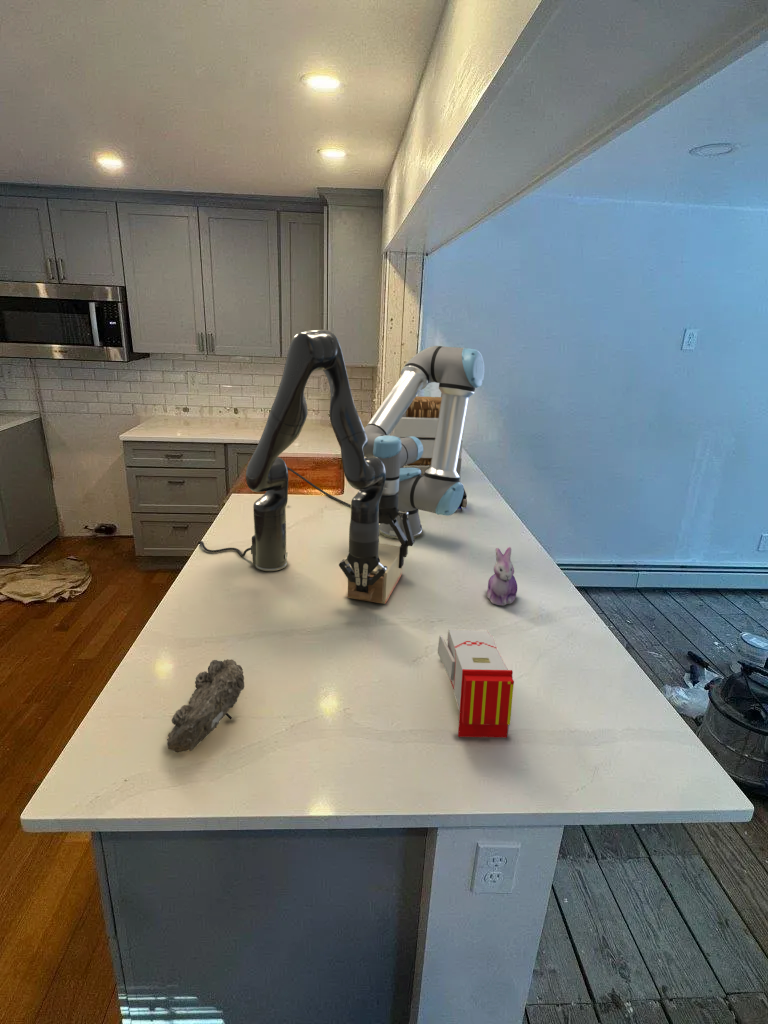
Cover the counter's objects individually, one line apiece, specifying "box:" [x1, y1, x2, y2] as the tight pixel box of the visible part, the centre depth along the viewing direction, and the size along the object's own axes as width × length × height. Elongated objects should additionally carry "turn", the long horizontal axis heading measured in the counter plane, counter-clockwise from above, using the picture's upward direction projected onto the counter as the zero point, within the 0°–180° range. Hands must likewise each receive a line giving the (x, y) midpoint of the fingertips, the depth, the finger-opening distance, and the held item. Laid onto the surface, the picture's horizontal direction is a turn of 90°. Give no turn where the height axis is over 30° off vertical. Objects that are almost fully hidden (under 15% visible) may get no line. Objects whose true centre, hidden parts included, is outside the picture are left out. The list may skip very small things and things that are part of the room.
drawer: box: [347, 571, 384, 604], centre depth 156 cm, size 23×10×7 cm, turn 165°
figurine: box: [486, 546, 518, 606], centre depth 155 cm, size 9×10×15 cm
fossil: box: [166, 658, 245, 754], centre depth 106 cm, size 22×10×15 cm
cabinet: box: [350, 543, 403, 605], centre depth 160 cm, size 18×11×9 cm, turn 165°
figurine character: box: [457, 489, 468, 512], centre depth 228 cm, size 7×8×15 cm
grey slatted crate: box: [389, 392, 465, 483], centre depth 268 cm, size 34×33×41 cm
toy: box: [437, 628, 515, 738], centre depth 117 cm, size 12×13×30 cm
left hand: (362, 596), depth 148 cm, fingers closed
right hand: (382, 563), depth 166 cm, fingers closed on cabinet, 11 cm apart
